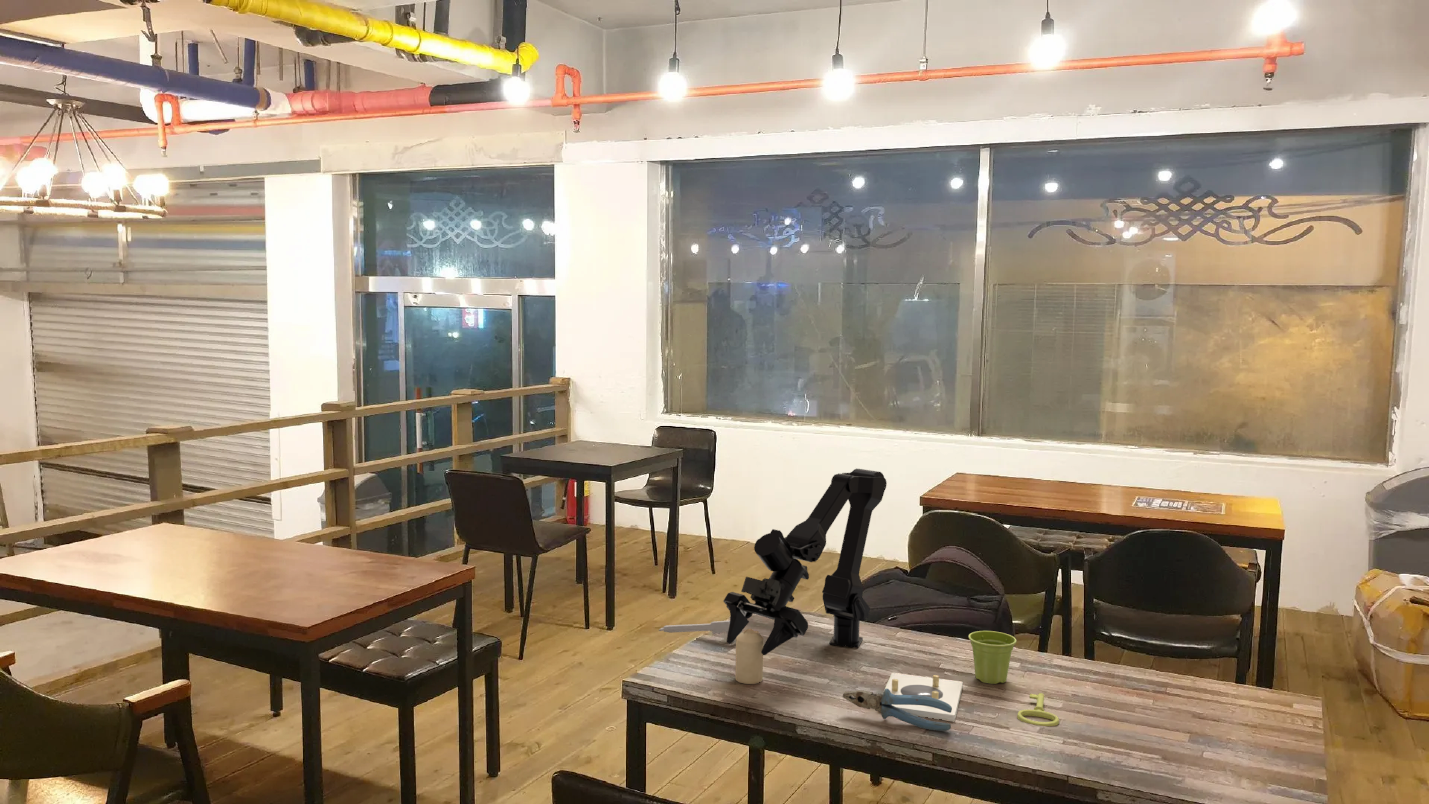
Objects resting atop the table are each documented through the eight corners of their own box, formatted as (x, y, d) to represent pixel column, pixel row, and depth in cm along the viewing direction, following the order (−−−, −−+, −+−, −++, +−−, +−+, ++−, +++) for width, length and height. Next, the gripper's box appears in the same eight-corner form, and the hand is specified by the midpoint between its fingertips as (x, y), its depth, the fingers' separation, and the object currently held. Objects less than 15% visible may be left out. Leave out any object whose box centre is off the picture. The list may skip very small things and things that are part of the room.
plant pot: (963, 683, 204) (965, 641, 204) (970, 668, 213) (972, 628, 212) (1011, 690, 201) (1013, 647, 200) (1016, 675, 210) (1018, 634, 209)
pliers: (841, 713, 188) (842, 682, 187) (845, 709, 190) (846, 679, 189) (949, 736, 179) (950, 703, 178) (952, 731, 181) (953, 699, 180)
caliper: (742, 643, 227) (742, 616, 226) (740, 645, 226) (740, 617, 226) (660, 630, 235) (661, 604, 235) (658, 631, 234) (658, 605, 234)
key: (1042, 702, 196) (1043, 692, 196) (1061, 729, 184) (1062, 717, 184) (1005, 701, 196) (1005, 691, 196) (1021, 728, 184) (1022, 716, 184)
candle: (733, 674, 207) (734, 626, 206) (760, 674, 207) (761, 626, 206) (736, 684, 201) (737, 635, 200) (764, 684, 202) (765, 635, 201)
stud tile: (891, 678, 206) (892, 663, 206) (962, 687, 202) (963, 671, 202) (877, 710, 189) (878, 694, 189) (954, 721, 185) (955, 704, 185)
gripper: (730, 553, 211) (692, 616, 204) (800, 570, 199) (762, 637, 192) (754, 583, 218) (718, 645, 211) (824, 601, 205) (788, 668, 198)
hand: (745, 648), depth 203 cm, fingers open, 9 cm apart
